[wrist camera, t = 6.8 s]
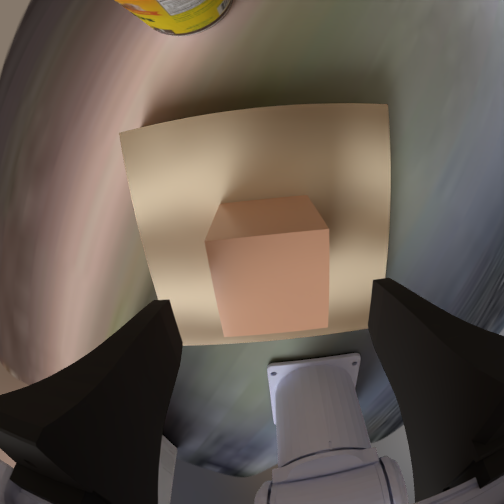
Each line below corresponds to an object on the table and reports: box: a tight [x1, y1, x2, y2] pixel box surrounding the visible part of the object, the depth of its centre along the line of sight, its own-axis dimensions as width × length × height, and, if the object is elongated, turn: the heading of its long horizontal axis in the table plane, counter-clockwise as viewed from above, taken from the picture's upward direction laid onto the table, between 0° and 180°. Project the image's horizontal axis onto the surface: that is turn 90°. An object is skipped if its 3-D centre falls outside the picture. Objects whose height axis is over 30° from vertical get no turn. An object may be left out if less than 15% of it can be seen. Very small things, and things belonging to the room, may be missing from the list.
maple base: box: [119, 103, 391, 346], centre depth 18 cm, size 14×14×3 cm
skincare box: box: [158, 435, 177, 504], centre depth 25 cm, size 6×4×12 cm
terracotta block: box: [204, 195, 329, 337], centre depth 14 cm, size 4×4×5 cm
